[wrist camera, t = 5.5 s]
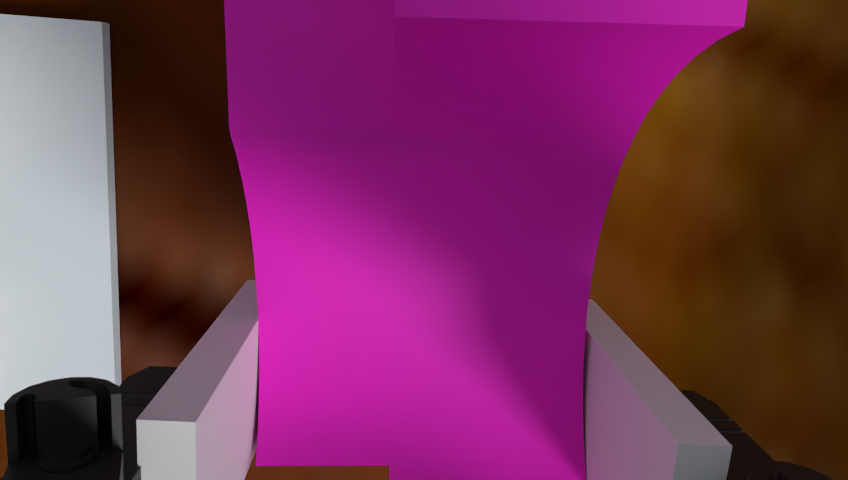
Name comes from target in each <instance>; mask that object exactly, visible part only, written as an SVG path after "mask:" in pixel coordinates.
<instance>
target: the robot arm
mask: <svg viewBox="0 0 848 480" xmlns="http://www.w3.org/2000/svg"><path fill="white" fill-rule="evenodd" d="M258 410H259V328H258V305H257V288H256V280H247V281H246V283H245V284H244V285H243V286H242V288H241V289H240V290H239V292H238V293H237V294H236V295H235V297H234V298H233V299H232V300H231V302H230V303H229V304H228V305H227V307H226V308H225V309H224V310H223V312H222V313H221V314H220V315H219V317H218V318H217V319H216V320H215V322H214V323H213V324H212V325H211V327H210V328H209V329H208V330H207V332H206V333H205V334H204V335H203V337H202V338H201V339H200V340H199V342H198V343H197V344H196V345H195V347H194V348H193V349H192V350H191V352H190V353H189V354H188V355H187V357H186V358H185V359H184V360H183V362H182V363H181V364H180V365H179V367H158V366H149V367H147V368H145V369H143V370H141V371H139V372H137V373H135V374H133V375H131V376H129V377H127V378H126V379H125V380H124V382H123V383H122V384H121V385H120V386H119V387H118V385H116V384H114V383H112V382H110V381H108V380H105V379H99V378H93V377H69V378H62V379H55V380H49V381H46V382H42V383H39V384H36V385H32V386H29V387H27V388H25V389H23V390H21V391H19V392H17V393H15V394H13V395H12V396H11V397H10V398H9V399H8V400H7V401H6V402H5V403H4V412H5V426H6V440H7V454H8V466H7V468H6V471H5V473H4V476H3V477H2V478H0V480H244V479H245V476H246V474H247V471H248V469H249V466H250V464H251V461H252V459H253V456H254V453H255V451H256V448H257V436H258ZM583 432H584V453H585V469H586V480H833V479H831V478H830V477H828V476H826V475H823V474H821V473H819V472H816V471H814V470H812V469H810V468H806V467H803V466H799V465H796V464H792V463H788V462H779V461H774V460H773V459H772V458H771V457H770V456H769V455H768V454H767V453H766V452H765V451H764V450H763V449H762V448H761V447H760V446H759V445H758V444H757V443H756V442H755V441H754V440H753V439H752V438H751V437H750V436H749V435H747V434H746V433H743V430H742V429H741V428H740V427H739V426H738V425H737V424H736V423H735V422H734V421H731V418H730V417H729V416H728V415H727V414H726V413H725V412H724V411H723V410H722V409H721V408H720V407H719V406H718V405H717V404H715V403H714V402H712V401H710V400H708V399H706V398H705V397H703V396H701V395H699V394H697V393H696V392H694V391H687V390H678V389H677V388H676V386H675V385H674V384H673V383H672V382H671V381H670V380H669V379H668V378H667V377H666V376H665V375H664V374H663V373H662V372H661V371H660V370H659V369H658V368H657V367H656V366H655V364H654V363H653V362H652V361H651V360H650V359H649V358H648V357H647V356H646V355H645V354H644V353H643V352H642V351H641V350H640V349H639V348H638V347H637V346H636V345H635V343H634V342H633V341H632V340H631V339H630V338H629V337H628V336H627V335H626V334H625V333H624V332H623V331H622V330H621V329H620V328H619V327H618V326H617V325H616V324H615V323H614V321H613V320H612V319H611V318H610V317H609V316H608V315H607V314H606V313H605V312H604V311H603V310H602V309H601V308H600V307H599V306H598V305H597V304H596V303H595V302H594V301H593V299H589V302H588V310H587V320H586V332H585V345H584V367H583Z"/></svg>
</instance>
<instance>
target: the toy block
mask: <svg viewBox="0 0 848 480" xmlns="http://www.w3.org/2000/svg"><path fill="white" fill-rule="evenodd" d="M746 9H747V0H224V13H225V37H226V62H227V86H228V111H229V131H230V135H231V138H232V142H233V145H234V149H235V152H236V156H237V160H238V164H239V169H240V173H241V177H242V182H243V187H244V193H245V198H246V203H247V209H248V216H249V222H250V229H251V237H252V245H253V254H254V264H255V276H256V288H257V305H258V328H259V410H258V436H257V455H256V466H375V465H389V480H586V469H585V453H584V432H583V367H584V345H585V332H586V320H587V310H588V302H589V293H590V286H591V279H592V273H593V267H594V261H595V256H596V251H597V246H598V241H599V236H600V232H601V228H602V224H603V221H604V217H605V213H606V209H607V206H608V203H609V199H610V196H611V193H612V190H613V187H614V184H615V181H616V178H617V176H618V173H619V170H620V168H621V165H622V162H623V160H624V158H625V156H626V154H627V151H628V149H629V147H630V145H631V143H632V140H633V138H634V136H635V135H636V133H637V131H638V129H639V127H640V125H641V124H642V122H643V120H644V118H645V116H646V115H647V113H648V112H649V110H650V109H651V107H652V106H653V104H654V103H655V101H656V100H657V98H658V97H659V95H660V94H661V93H662V92H663V90H664V89H665V88H666V87H667V85H668V84H669V83H670V82H671V81H672V79H673V78H674V77H675V76H676V75H677V74H678V73H679V72H680V71H681V70H682V69H683V68H684V67H685V66H686V65H687V64H688V63H689V62H690V61H691V60H692V59H693V58H694V57H695V56H697V55H698V54H699V53H701V52H702V51H704V50H705V49H706V48H708V47H709V46H710V45H712V44H713V43H715V42H716V41H717V40H719V39H721V38H723V37H725V36H727V35H729V34H731V33H733V32H735V31H737V30H739V29H741V28H743V27H744V25H745V17H746Z"/></svg>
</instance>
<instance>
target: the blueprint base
mask: <svg viewBox="0 0 848 480" xmlns="http://www.w3.org/2000/svg"><path fill="white" fill-rule="evenodd" d="M69 377H93V378H99V379H105V380H108V381H110V382H112V383H114V384H116V385H118V387H119V386H120V385H121V354H120V324H119V294H118V264H117V234H116V204H115V174H114V144H113V114H112V84H111V54H110V24H109V23H104V22H97V21H84V20H71V19H58V18H46V17H33V16H20V15H7V14H0V409H2V410H4V403H5V402H6V401H7V400H8V399H9V398H10V397H11V396H12V395H13V394H15V393H17V392H19V391H21V390H23V389H25V388H27V387H29V386H32V385H36V384H39V383H42V382H46V381H49V380H55V379H62V378H69Z"/></svg>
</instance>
